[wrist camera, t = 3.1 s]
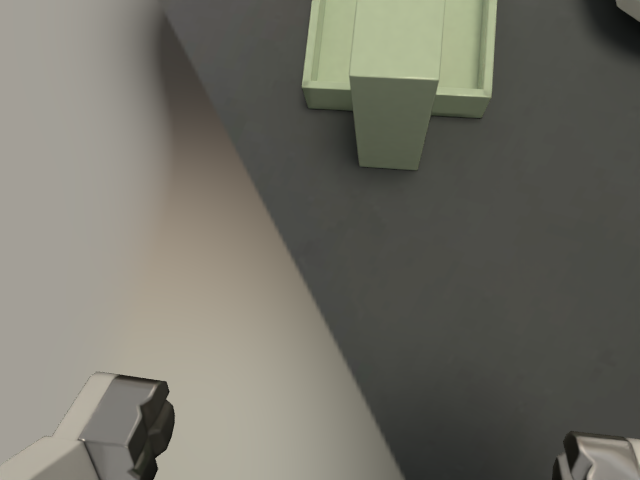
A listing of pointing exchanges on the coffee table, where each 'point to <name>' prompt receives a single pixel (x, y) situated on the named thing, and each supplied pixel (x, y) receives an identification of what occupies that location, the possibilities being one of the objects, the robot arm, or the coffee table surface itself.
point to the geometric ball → (630, 7)
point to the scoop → (399, 69)
